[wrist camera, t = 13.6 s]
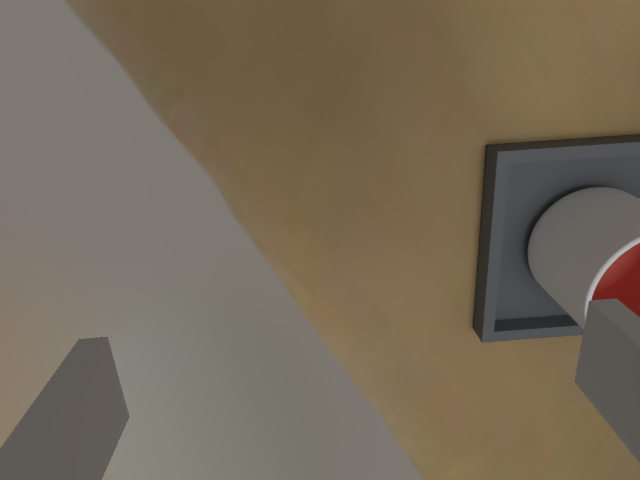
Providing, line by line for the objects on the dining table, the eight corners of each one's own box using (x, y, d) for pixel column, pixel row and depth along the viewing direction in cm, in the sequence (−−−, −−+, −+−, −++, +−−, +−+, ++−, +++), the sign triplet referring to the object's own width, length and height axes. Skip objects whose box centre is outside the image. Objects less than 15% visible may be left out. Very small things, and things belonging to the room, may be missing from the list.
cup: (618, 159, 39) (718, 197, 30) (652, 255, 42) (752, 316, 33) (503, 221, 40) (564, 276, 31) (545, 309, 44) (612, 382, 35)
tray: (486, 145, 38) (497, 151, 36) (697, 130, 39) (721, 136, 37) (472, 327, 45) (481, 342, 43) (653, 313, 45) (671, 328, 43)
